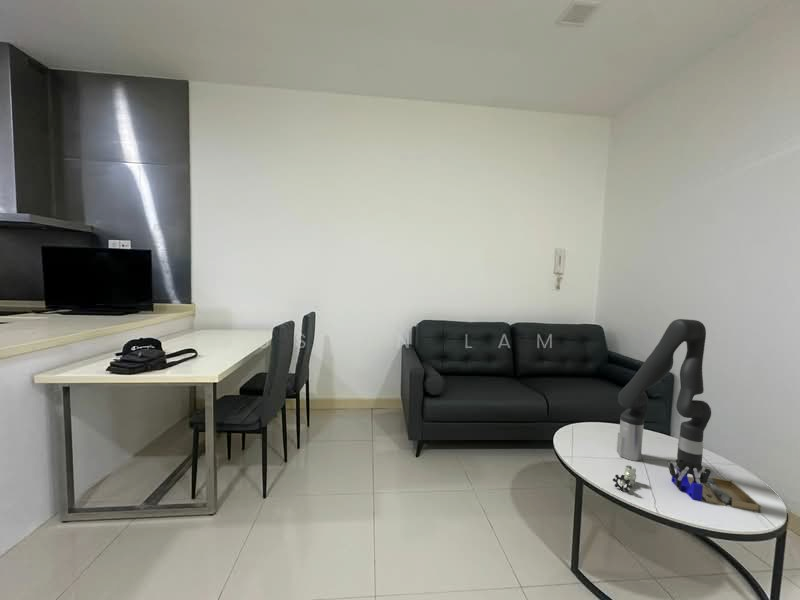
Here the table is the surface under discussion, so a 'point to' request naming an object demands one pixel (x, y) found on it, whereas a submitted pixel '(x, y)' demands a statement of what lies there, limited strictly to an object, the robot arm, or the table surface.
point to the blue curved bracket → (691, 488)
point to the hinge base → (726, 494)
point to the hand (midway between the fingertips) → (686, 489)
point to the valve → (626, 478)
